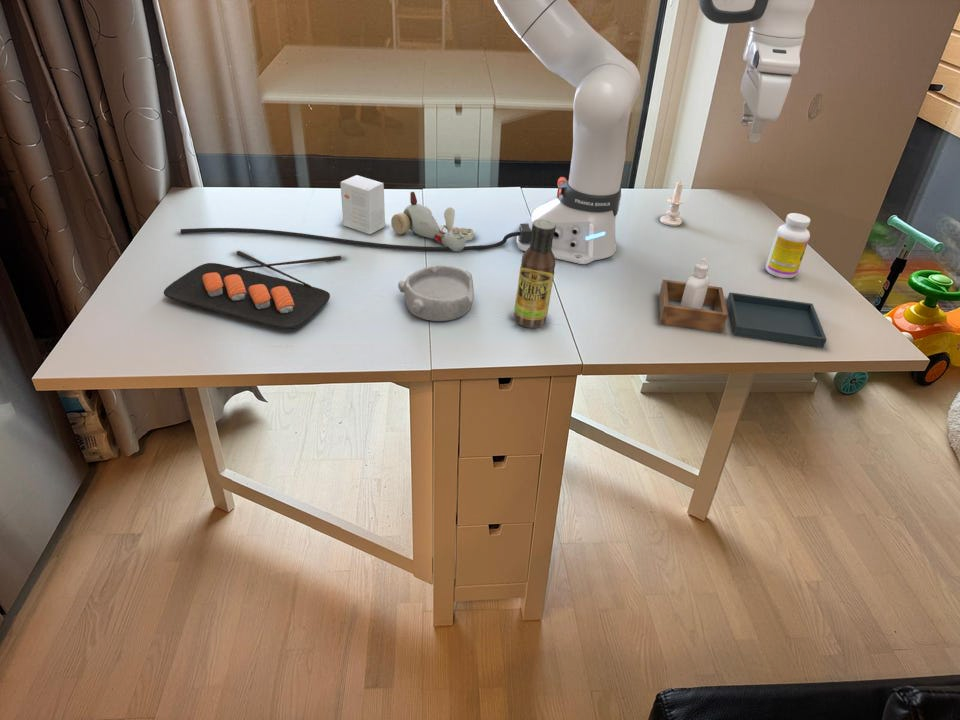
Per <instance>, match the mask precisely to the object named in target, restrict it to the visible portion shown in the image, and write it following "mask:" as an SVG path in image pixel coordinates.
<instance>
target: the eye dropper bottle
mask: <svg viewBox="0 0 960 720" xmlns="http://www.w3.org/2000/svg"><path fill="white" fill-rule="evenodd" d="M694 265H695V266H694V270H693V274H691V276H689V278H687V280H686V282H685V283H686V286H685V289H684V293H683V297H682V301H681V302H680V305H679V306H682V307H689V308H697V309H703V306H704V305H703V303H704V300H705V296H706V292H707V289H708V286H710V277H709V276H708V272H709V268H710V267H709V265H708V264H707V259H706V258H705V257H703V258H701V260H700V262H696V263H695V264H694Z"/></svg>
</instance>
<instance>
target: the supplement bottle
mask: <svg viewBox="0 0 960 720" xmlns="http://www.w3.org/2000/svg"><path fill="white" fill-rule="evenodd" d="M810 224H811V218H810V217H809V216H807V215H804V214H801V213H798V212H790V213H788V214H787V215H786V218H785V223H784V224H781V225H779V226H778V228H777V230H776V233H775V236H774V239H773V242H772V245H771V248H770V251H769V255H768V258H767V261H766V264H765V270H766V271H767V272H768V273H769V274H770V275H772V276H774V277H776V278H782V279H792V278H794V277H796V276H797V275H798V272H799V269H800V266H801V264H802V261H803V258H804V255H805V252H806V248H807V247H808V243H809V241H810V237H811V232H810V230H808V229H807V228H808V227H809V226H810Z"/></svg>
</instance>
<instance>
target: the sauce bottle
mask: <svg viewBox="0 0 960 720" xmlns="http://www.w3.org/2000/svg"><path fill="white" fill-rule="evenodd" d="M555 229H556V225H555V223H554V222H552V221H550V220H546V219H538V220H535V221H534V222H533V225H532V238H531V243H530V247H529V248H528V249H527V250H526V251H524V253H523V255H522V256H521V262H520V263H521V264H520V268H519V272H518V274H519V275H518V281H517V289H516V294H515V303H514V314H513V319H514V321H515V322H516V323H517V324H518V325H521V326H522V327H525V328H535V329H536V328H540V327H542V326H543V325H545V323H546V321H547V316H548V312H549V307H550V300H551V295H552V289H553V282H554V279H555V278H554V277H555V268H556V258H555V257H554V254H553V252H552V241H553V235H554V233H555Z"/></svg>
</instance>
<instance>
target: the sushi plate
mask: <svg viewBox="0 0 960 720" xmlns="http://www.w3.org/2000/svg"><path fill="white" fill-rule="evenodd" d="M236 254H237V255H238V256H240V257H242V258H245V259H247V260H249V261H251V262H254V263H256V264H257V265H248V266H247V265H246V266H238V267H236V266H231V265H227V264H223V263H216V262H207V263H202V264H200V265H199V266H197V267H194V268H193V269H191V270H190V271H188V272H186V273H185V274H183V275H182V276H180V277H179V278H178V279H176V280H174V281H173V282H171V283H170V284H169V285H167V286H166V287H165V289H164V290H163V295H164V296H165V297H166V298H168V299H170V300H173V301H176V302H180V303H183V304H187V305H191V306H194V307H198V308H201V309H202V308H203V309H206V310H209V311H213V312H217V313H220V314H224V315H229V316H231V317H236V318H239V319H243V320H247V321H251V322H254V323H258V324H262V325H266V326H269V327H272V328H273V327H274V328H278V329H284V330H292V329H293V330H294V329H296V328H299V327H301V326H302V325H304V324H305V323H306V322H308V321H309V320H310V319H311V318H312V317H313V316H314V315H316V314H317V313H318V312H319V311H320V310H321V309H322V308H323V307H324V306H325V305H326V304H327V303H328V301H330V298H331V294H330V292H328V291H327V290H325V289H322V288H319V287H315V286H312V285H310V284H308V283H306V282H304V281H302V280H300V279H299V278H296V277H294V276H292V275H290V274H287V273H286V272H284V271H282V270H279V269H277V268H276V267H274V266H285V265H296V264H307V263H317V262H319V263H320V262H328V261H337V260H338V261H339V260H342V256H341V255H337V256H336V255H333V256H326V257H325V256H324V257H316V258H308V259H307V258H306V259H301V260H292V261H291V260H290V261H283V262H275V263H274V262H273V263H265V262H263V261H261V260H260V259H257V258H255V257H253V256H251V255H249V254H247V253H245V252H243V251H241V250H236ZM256 268H266V269H270V270H272V271H274V272H275V273H279V274H281V275H283V276H285V277H287V278H289V279H290V280H288V279H284V278H279V277H276V276H272V275H268V274H264V273H260V272H257V271H251V270H248V269H256ZM292 280H294V281H292Z"/></svg>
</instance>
